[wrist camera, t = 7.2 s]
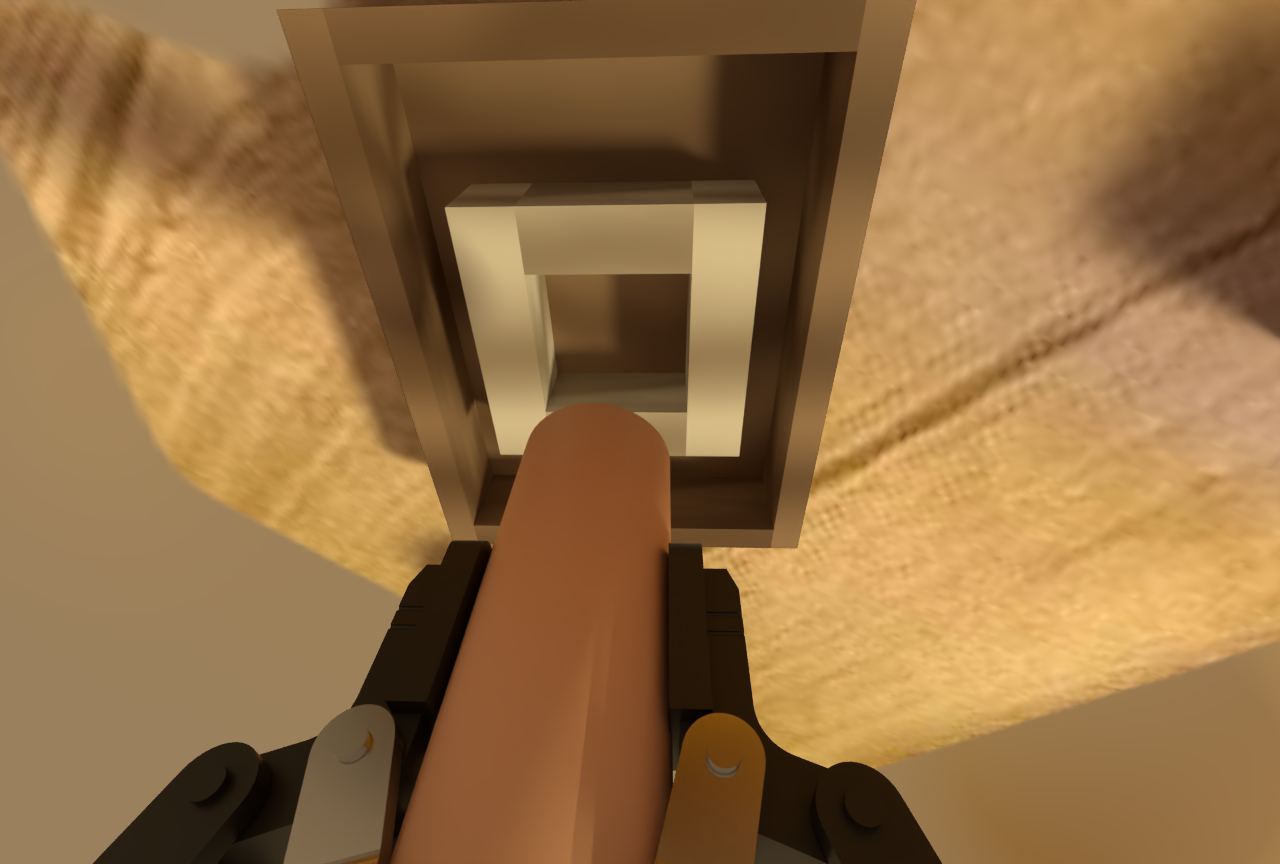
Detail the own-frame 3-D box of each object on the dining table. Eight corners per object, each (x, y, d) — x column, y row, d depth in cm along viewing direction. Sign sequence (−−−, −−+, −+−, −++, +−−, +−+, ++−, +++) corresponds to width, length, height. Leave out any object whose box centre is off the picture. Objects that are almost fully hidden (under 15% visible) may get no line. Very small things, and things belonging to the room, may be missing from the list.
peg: (514, 403, 14) (198, 1203, 5) (670, 402, 14) (678, 1238, 4) (536, 513, 17) (359, 1192, 7) (669, 514, 16) (674, 1214, 7)
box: (356, 10, 18) (276, 9, 14) (865, -5, 17) (918, -11, 13) (479, 479, 30) (453, 542, 26) (781, 482, 29) (797, 548, 25)
